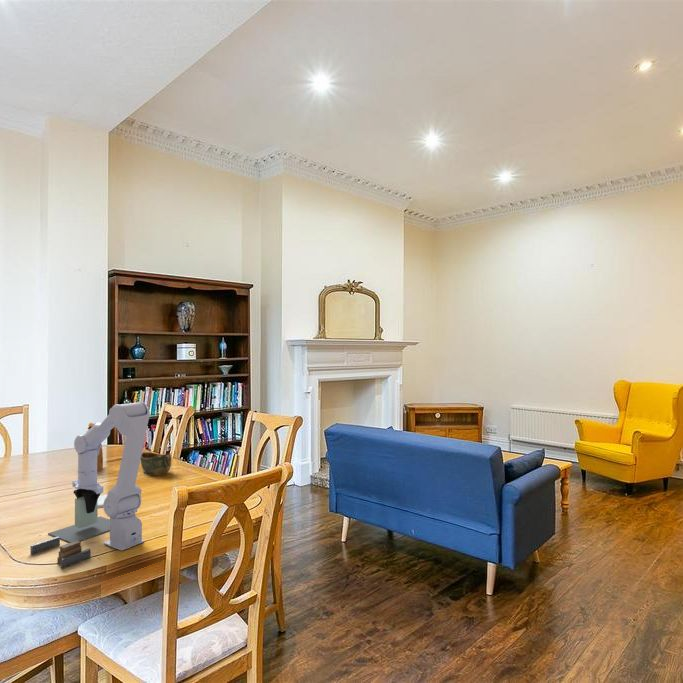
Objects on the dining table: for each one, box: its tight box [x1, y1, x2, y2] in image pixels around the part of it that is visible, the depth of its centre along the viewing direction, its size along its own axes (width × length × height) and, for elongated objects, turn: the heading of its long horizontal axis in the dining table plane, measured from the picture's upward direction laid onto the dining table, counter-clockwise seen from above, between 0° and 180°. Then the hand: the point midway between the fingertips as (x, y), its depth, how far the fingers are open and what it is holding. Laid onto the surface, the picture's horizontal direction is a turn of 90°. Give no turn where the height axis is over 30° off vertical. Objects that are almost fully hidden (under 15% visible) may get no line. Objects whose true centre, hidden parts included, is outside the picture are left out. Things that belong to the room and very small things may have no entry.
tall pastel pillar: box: [74, 497, 99, 528], centre depth 163 cm, size 3×6×9 cm, turn 148°
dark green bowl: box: [140, 451, 172, 477], centre depth 233 cm, size 13×20×10 cm, turn 25°
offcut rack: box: [30, 537, 92, 570], centre depth 144 cm, size 17×8×2 cm, turn 58°
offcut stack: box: [56, 541, 83, 566], centre depth 141 cm, size 2×6×5 cm, turn 148°
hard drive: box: [98, 493, 108, 509], centre depth 192 cm, size 2×8×12 cm
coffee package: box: [87, 422, 104, 473], centre depth 238 cm, size 10×12×22 cm
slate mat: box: [47, 516, 110, 544], centre depth 164 cm, size 14×18×1 cm
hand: (87, 511), depth 164 cm, fingers closed on tall pastel pillar, 3 cm apart
